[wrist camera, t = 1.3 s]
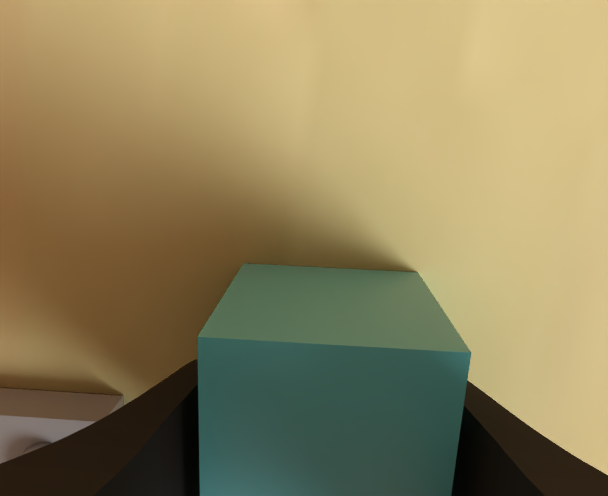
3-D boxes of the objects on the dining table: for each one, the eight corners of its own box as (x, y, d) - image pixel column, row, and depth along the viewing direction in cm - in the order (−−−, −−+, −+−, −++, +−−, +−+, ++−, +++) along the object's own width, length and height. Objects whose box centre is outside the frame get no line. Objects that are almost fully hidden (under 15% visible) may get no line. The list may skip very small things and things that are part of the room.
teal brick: (395, 472, 13) (430, 640, 9) (242, 461, 13) (201, 622, 9) (416, 270, 12) (471, 352, 7) (244, 262, 12) (197, 336, 8)
